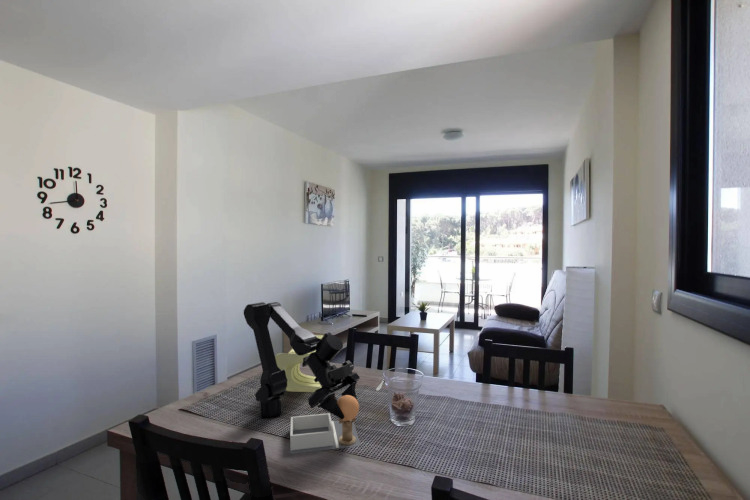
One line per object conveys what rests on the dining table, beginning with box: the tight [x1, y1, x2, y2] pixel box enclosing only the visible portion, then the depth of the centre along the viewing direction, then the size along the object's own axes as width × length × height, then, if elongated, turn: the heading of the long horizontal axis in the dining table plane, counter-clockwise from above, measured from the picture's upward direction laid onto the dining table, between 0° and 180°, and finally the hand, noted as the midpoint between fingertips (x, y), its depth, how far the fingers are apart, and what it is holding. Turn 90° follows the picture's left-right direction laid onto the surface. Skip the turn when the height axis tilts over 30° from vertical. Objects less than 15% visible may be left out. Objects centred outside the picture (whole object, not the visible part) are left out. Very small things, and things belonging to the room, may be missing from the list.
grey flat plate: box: [289, 420, 362, 455], centre depth 113 cm, size 20×17×1 cm
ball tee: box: [338, 417, 356, 445], centre depth 109 cm, size 5×5×7 cm
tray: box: [289, 412, 334, 451], centre depth 111 cm, size 12×12×4 cm
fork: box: [375, 380, 385, 391], centre depth 158 cm, size 3×24×2 cm, turn 163°
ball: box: [337, 395, 360, 421], centre depth 109 cm, size 7×7×7 cm
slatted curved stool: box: [275, 334, 324, 393], centre depth 155 cm, size 30×16×18 cm, turn 174°
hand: (351, 413), depth 108 cm, fingers closed on ball, 7 cm apart
